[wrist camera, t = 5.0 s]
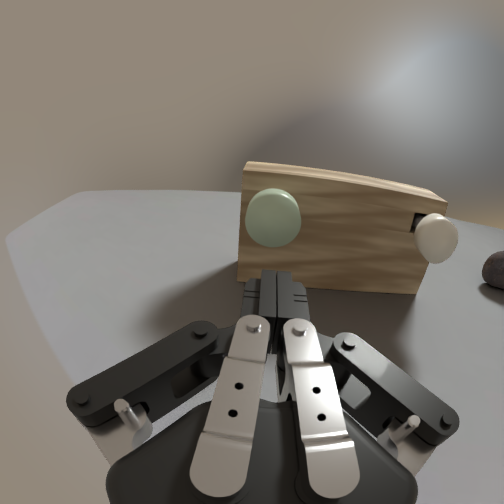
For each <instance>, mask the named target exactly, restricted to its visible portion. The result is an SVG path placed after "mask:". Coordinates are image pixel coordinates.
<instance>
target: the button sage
mask: <svg viewBox="0 0 504 504" xmlns="http://www.w3.org/2000/svg"><path fill="white" fill-rule="evenodd" d="M245 226H246V230H247V232H248V234H249V235H250V237H251V238H252V239H253V240H254V241H256V242H257V243H259V244H260V245H263V246H266V247H281V246H284V245H286V244H288V243H290V242H291V241H292V240H293V239H294V238H295V237H296V236H297V234H298V233H299V230H300V227H301V216H300V212H299V208H298V205H297V202H296V201H295V199H294V198H293V197H292V196H291V195H290V194H289V193H287V192H286V191H283V190H280V189H274V188H271V189H265V190H263V191H260V192H259V193H257V194H256V195H255V196H254V197H253V198H252V199H251V201H250V203H249V205H248V209H247V212H246V216H245Z"/></svg>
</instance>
